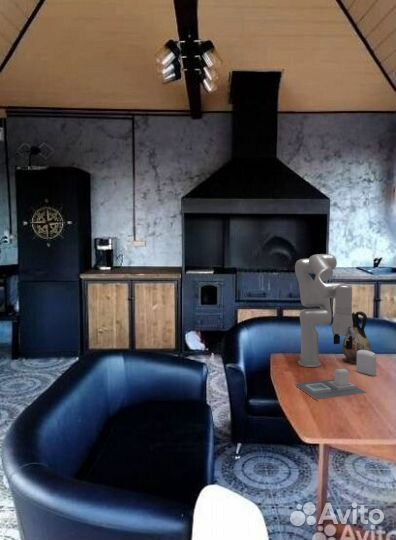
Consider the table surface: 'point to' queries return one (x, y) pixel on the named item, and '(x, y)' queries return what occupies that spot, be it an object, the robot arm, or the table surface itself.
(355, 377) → the table surface
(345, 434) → the table surface
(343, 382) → the plug
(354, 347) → the ceramic jug
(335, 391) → the dock board
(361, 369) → the photo printer
